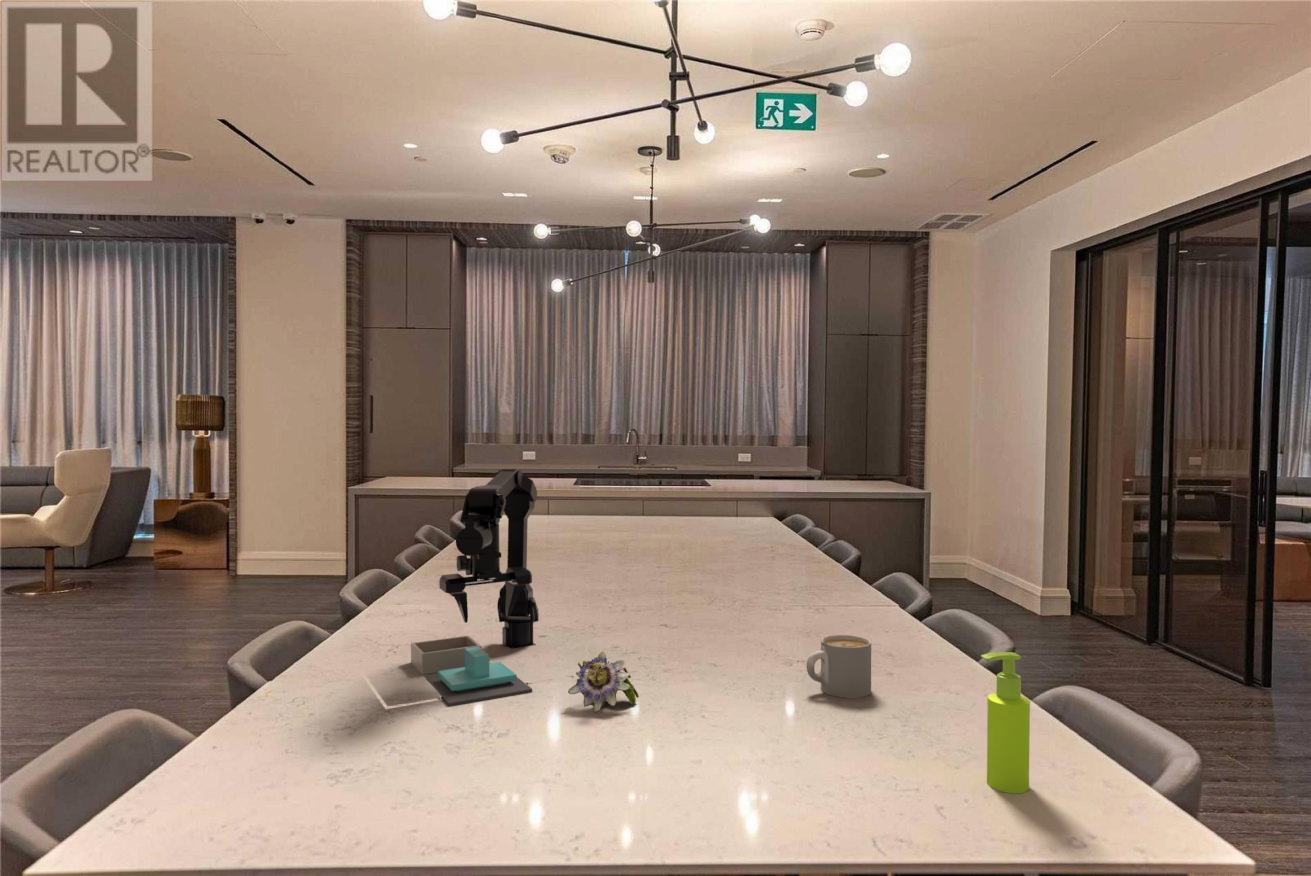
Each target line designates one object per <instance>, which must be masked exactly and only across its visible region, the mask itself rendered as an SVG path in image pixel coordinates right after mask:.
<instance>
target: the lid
mask: <svg viewBox="0 0 1311 876" xmlns="http://www.w3.org/2000/svg"><path fill="white" fill-rule="evenodd" d="M437 674H438V677H439V678H440V679H441V680H442V681H443V682H444V683H445V684H446V685H447V686H448V687H449V688H450V689H451V690H452V691H455V690H456V691H457V692H458V691H464V690H470V689H476V688H482V687H489V686H495V685H501V684H507V682H510V681H516V680H517V677H518V676H517V674H516V673H515V672H514V671H513V670H511V669H510V668H509V667H507V666H506V665H505V664H504V663H502V662H501V661H497V662H496V661H495V662H490V654H489V653H487V652H486V651H485V650H484V649H482V647H481V648H480V647H473V648H466V649H465V667H462V668H455V669H448V670H442V671H438V672H437Z"/></svg>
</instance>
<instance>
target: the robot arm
mask: <svg viewBox="0 0 1311 876" xmlns="http://www.w3.org/2000/svg"><path fill="white" fill-rule="evenodd" d="M537 497H538V489H537V486H536V484H535V482H534V480H533V479H531V478H530V477H528V476H526V475H525V474H523V472H522V470H521V469H518V468H502V469H499V470H498V471H497V474H496V475H495V476H494V477H493V478H491V479H490V480H489V481H488V483H487V484H485V485H479V486H474V487H471V488H470V489H469V491H468V493H466V495H465V497H464V503H463V507H462V512H461V516H460V523H464V528H462V529H461V530H460V531H458V534H457V536H456V538H455V546H456V548H457V550H458V551H459V552H460V553H461V554H462V555H457V556H456V569H457V572H463V571H465V577H464V576H462V575H461V574H459V573H451V574H443V575H441V576H440V577H439V580H438V581H439V584H438V585H439V590H442V591H443V592H444V593H445V594H449V596H451V597H452V598H454V600H455V601H456V604H457V606H458V609H459V611H460V614H461V617H462V619H463V622H464V623H465V624H467V623H468V620H469V619H468V617H469V613H468V611H469V609H468V594H467V592H466V591H465V589H466V587H469V586H479V585H486V584H495V583H503V582H504V584H503V586H502V587H501V588H500V589H499V597H498V598H497V614H498V621H499V623H504V624H503V625H504V626H502V629H501V631H502V634H501V635H502V645H504V646H505V647H508V649H518V648H526V647H532V646H537V644H536V643H535V642H534V623H536V622H539V618H540V617H539V607H538V605H537V602H536V599H535V597H534V590H533V587H532V586H531V584H532V583H533V574H532V572H531V570H529V569H528V563H527V562H528V559H527V558H528V519H529V517H530V515H531V514H532V512H533V511H534V509H535V504H536V503H535V502H537ZM504 514H505V516H506V518H507V521H508V522H507V561H506V564H507V565H506V566H507V568H506V570H505V572H502V571H501V569H500V568H501V567H500V565H501V563H500V562H501V560H500V559H501V558H502V552H501V551H500V524H499V523H500V521H501V519H502V518H503V516H504Z"/></svg>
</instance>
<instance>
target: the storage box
mask: <svg viewBox="0 0 1311 876" xmlns="http://www.w3.org/2000/svg"><path fill="white" fill-rule="evenodd" d="M460 647H464V648H460ZM473 647H480V648H481V649H482V645H481V644H480V643H479V642H477V641H476V640H475V639H473V638H472V637H470V636H469V635H462V636H455V637H447V638H438V639H432V640H423V641H417V642H416V641H415V642H410V664H412V666H414V667H415V669H416V670H417V671H418V672H419V673H420V674H421V675H424V676H425V675H429V674H430V675H431V674H438V671H442V670H448V669H455V668H462V667H465V649H466V648H473ZM452 648H456V649H452Z"/></svg>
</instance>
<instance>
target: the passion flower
mask: <svg viewBox="0 0 1311 876" xmlns="http://www.w3.org/2000/svg"><path fill="white" fill-rule="evenodd" d="M577 665H578V667H579V669H580V670H579V671H576V672H575V675H576V676H577V677H578V679H576V684H574V685H572V687H570V688H569V689H568V691H567V693H568V694H569V695H576V694H578V693H581V695H583V707H589V706H592V707H593V711H595V713H598V712H599V711H600V710H601V708H602V706H603V702H604V701H606V702H607V704H608V705H609V706H612V707H615V705H616V703H617V693H618V691H622V692H623V693H624V695H625V696H626V698H627V699H628V701H629V703H630V705H632V706H634V705H636V701H637V699H638V698H639V697H640V695H639V692H638V691H637V690H636V688H635V687H634V685H633V683H631V681H630V679H631V678H632V676H631V674H630V672H629V671H628V669H627V667H624V666H625V660H624V659H621V660H617V661H614V662H610V661H608V657H607V654H606V652H604V650H603V651H600V653H598V655H597V657H594V659H593V658H591V660H583V661H582V664H581V663H580V662H578V663H577ZM597 711H598V712H597Z"/></svg>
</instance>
